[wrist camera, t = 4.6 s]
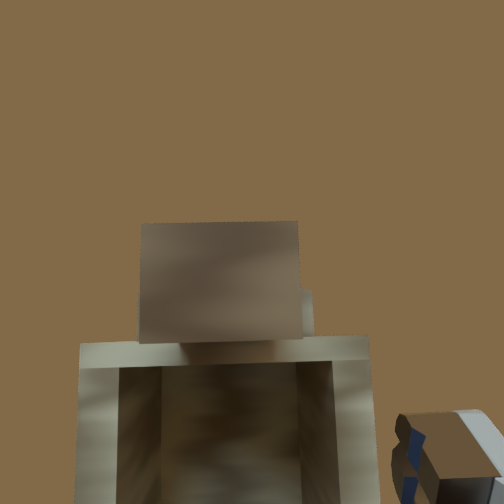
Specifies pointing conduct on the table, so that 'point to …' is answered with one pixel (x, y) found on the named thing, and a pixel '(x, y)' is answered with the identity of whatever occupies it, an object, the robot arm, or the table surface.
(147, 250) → the walnut strip
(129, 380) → the birch rack
